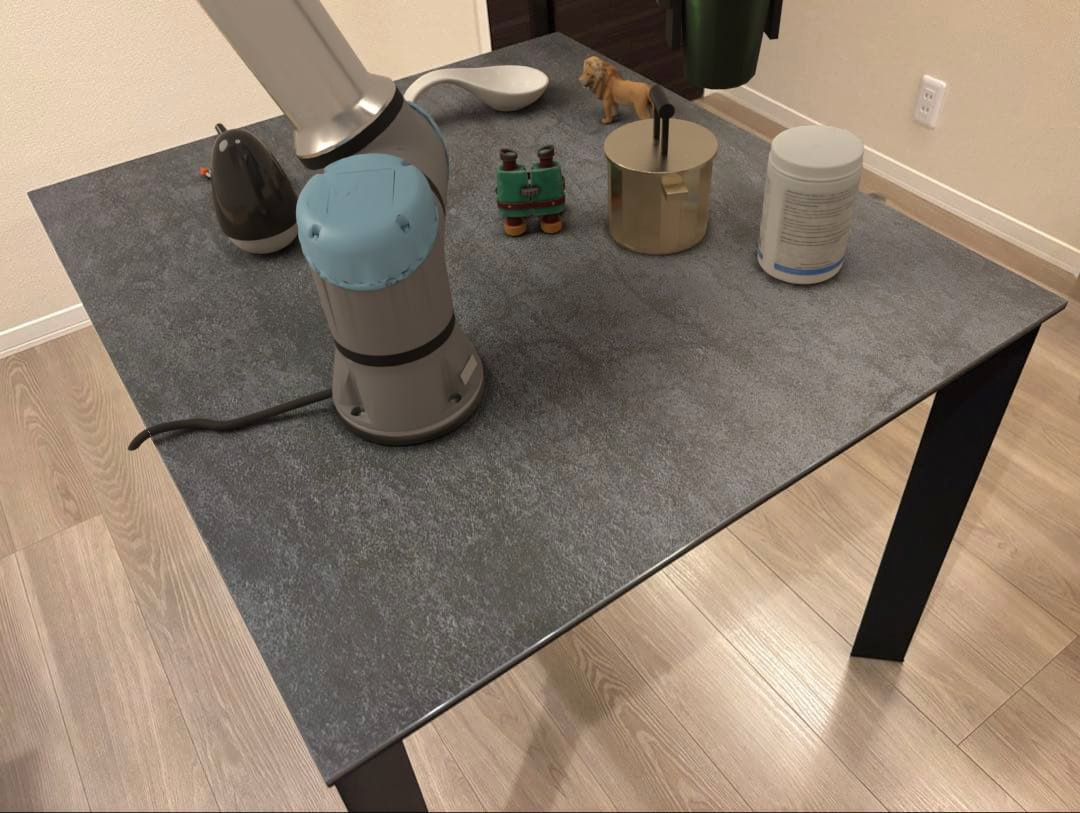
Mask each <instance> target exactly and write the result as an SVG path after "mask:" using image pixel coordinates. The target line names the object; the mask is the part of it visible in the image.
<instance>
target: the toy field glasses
mask: <svg viewBox="0 0 1080 813" xmlns="http://www.w3.org/2000/svg"><path fill="white" fill-rule="evenodd" d="M536 155H537V158H539V161H538V162H536V163H533V164H531V168H530V169H531V170H530V171H527V168H526V165H524V164H520V163H517V160H518V156H519V155H518V152H517V151H515V150H513V149H510V148H504V147H503V148H500V149H499V159H500V160H501V161H502V164H500V165H498V166H497V168H496V186H495V189H494V192H495V194H496V196H497V197H496V201H495V202H496V206H497V208H498V214H499V215H500V216H501V217H503V218H504V217H505V218H506V219H505V220H504V222H503V227H504V232H505V234H507V235H508V236H512V237H513V236H520V235H522V234H523V233H524V232H526V230H527V224H526V219H525V218H524V217H531V216H534V217H535V216H541V217H540V220H539V221H540V223H539V224H540V229H541V230H542V231H543V232H545V233H549V234H550V233H551V234H554V233H557V232H559V231H560V230H561V229H562V227H563V220H562V216H560V214H559V213H561V212H563V211H565V209H566V193H565V190H566V177H565V175H563V174H562V167H561V163H560V161H558V160H554V156H555V146H554V144H547V145H544V146H542V147H540V148H538V149H537V151H536ZM529 181H530V183H529Z"/></svg>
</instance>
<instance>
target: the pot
mask: <svg viewBox="0 0 1080 813" xmlns="http://www.w3.org/2000/svg"><path fill="white" fill-rule="evenodd" d="M606 162H607V163H606V167H607V170H606V171H607V175H606V176H607V225H608V231H609V234H610V236H611V238H612V239H613V241H615V243H616V244H618V245H619V246H621V247H623V248H624V249H627V250H629V251H632V252H635V253H638V254H643V255H655V256H658V255H659V256H660V255H672V254H676V253H680V252H684V251H686V250H688V249H690V248H692V247H694V246H696V245H697V244H699V242H701V241H702V240H703V238H704V237H705V235H706V233H707V227H708V223H709V212H710V202H711V201H710V199H711V188H712V187H711V186H712V177H713V164H714V163H713V162H714V159H713V160H712V161H711V162H710V163H709V164H708V165H706V166H705V167H703V168H701V169H699V170H697V171H694V172H691V173H688V174H684V175H679V176H673V177H645V176H639V175H634V174H630V173H627V172H624V171H622V170H620V169H618V168H616V167H614V166H613V165H612V164H611V163H609V161H608V160H607V159H606Z"/></svg>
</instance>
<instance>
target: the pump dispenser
mask: <svg viewBox="0 0 1080 813" xmlns="http://www.w3.org/2000/svg"><path fill="white" fill-rule="evenodd" d="M214 130H215V132H216V134H217V135H218V136H217V137H216V139H215V141H214V143H213V146H212V150H211V156H210V170H211V178H210V183H211V194H213V195H212V201H213V206H214V211H215V214H216V219H217V222H218V225H219V228H220V230H221V232H222V233H223V234H224V235H225V236H226V237H228V239H229V241H231V243H233V245H235V246H236V247H238V248H239V249H240V250H243V251H245V252H247V253H251V254H260V255H263V254H264V255H265V254H271V253H275V252H278V251H280V250H282V249H284V248H286V247H287V246H289V245H290V244H291V243H293V241H294V240H295V239H296V238H297V236H298V225H297V220H296V206H297V201H298V198H299V196H298V193H297V192H296V189H295V188H294V186H293V184H292V182H291V180H290V179H289V177H288V175H287V173H286V172H285V170H284V169H283V167H282V165H281V164H280V162H279V161H278V160H277V158H276V157H275V155H274V154H273V153H272V151H271V150H270V149H269V148H268V146H267V145H266V144H265V143H264V142H263V141H262V140H261V139H260V138H259V137H258V136H256V135H255V134H253V132H251V131H249V130H246V129H244V128H230V129H228V128H226V126H225V125H224V124H223V123H220V122H218V123H216V124H215V125H214Z"/></svg>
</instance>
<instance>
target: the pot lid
mask: <svg viewBox="0 0 1080 813" xmlns="http://www.w3.org/2000/svg"><path fill="white" fill-rule="evenodd" d="M649 96H650V98H651V100H652V102H653V104H654V112H653V119H645V120H641V119H640V120H635V121H632V122H629V123H626V124H623V125H621V126H619V127H618V128H616V129H614V130H613V131H612V132H610V133H609V135H607V136H606V138H605V139H604V143H603V155H604V157H605V159H606V161H607V160H608V161H609V163H611V164H612V165H613V166H614V167H616V168H618V169H620V170H622V171H624V172H627V173H630V174H634V175H639V176H645V177H673V176H679V175H684V174H688V173H691V172H694V171H697V170H699V169H701V168H703V167H705V166H706V165H708V164H709V163H710V162H711V161H712V160H713V161H714V160H715V158H716V157H717V153H718V149H719V142H718V139H717V137H716V136H715V134H714V133H713V132H712V131H711V130H709V129H708V128H707V127H705V126H703V125H701V124H700V123H699V124H698V123H696V122H693V121H689V120H686V119H681V118H673V116H674V115H675V113H676V108H675V106H674V104H673V102H672V100H671V98H670V97H669V94H668V93H667V91H666V89H665V87H664V86H663V85H662V84H654V85H653V86H651V89H650V91H649Z"/></svg>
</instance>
